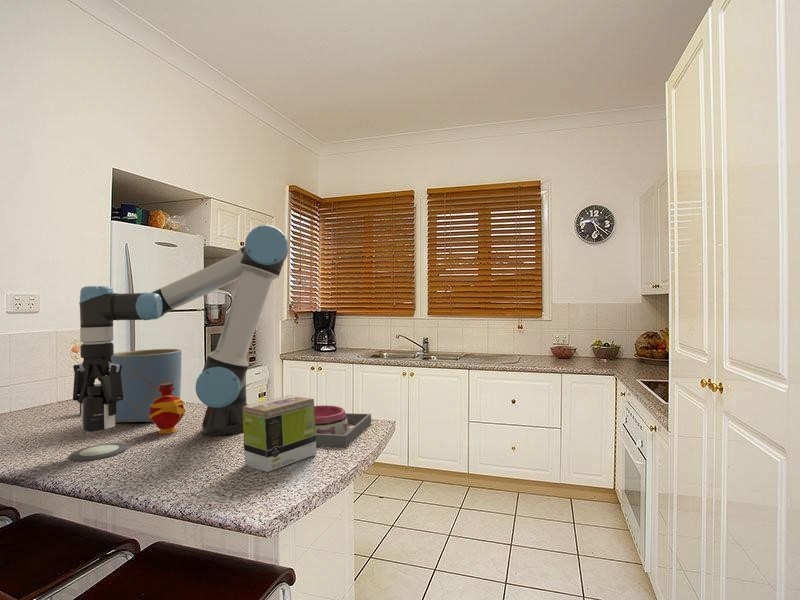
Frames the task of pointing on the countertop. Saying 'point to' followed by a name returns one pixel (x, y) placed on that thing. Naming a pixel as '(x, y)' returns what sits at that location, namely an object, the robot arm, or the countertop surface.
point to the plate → (98, 451)
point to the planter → (145, 380)
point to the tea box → (279, 432)
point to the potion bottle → (166, 409)
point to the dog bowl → (330, 420)
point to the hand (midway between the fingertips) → (98, 426)
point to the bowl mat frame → (346, 439)
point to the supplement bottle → (94, 409)
